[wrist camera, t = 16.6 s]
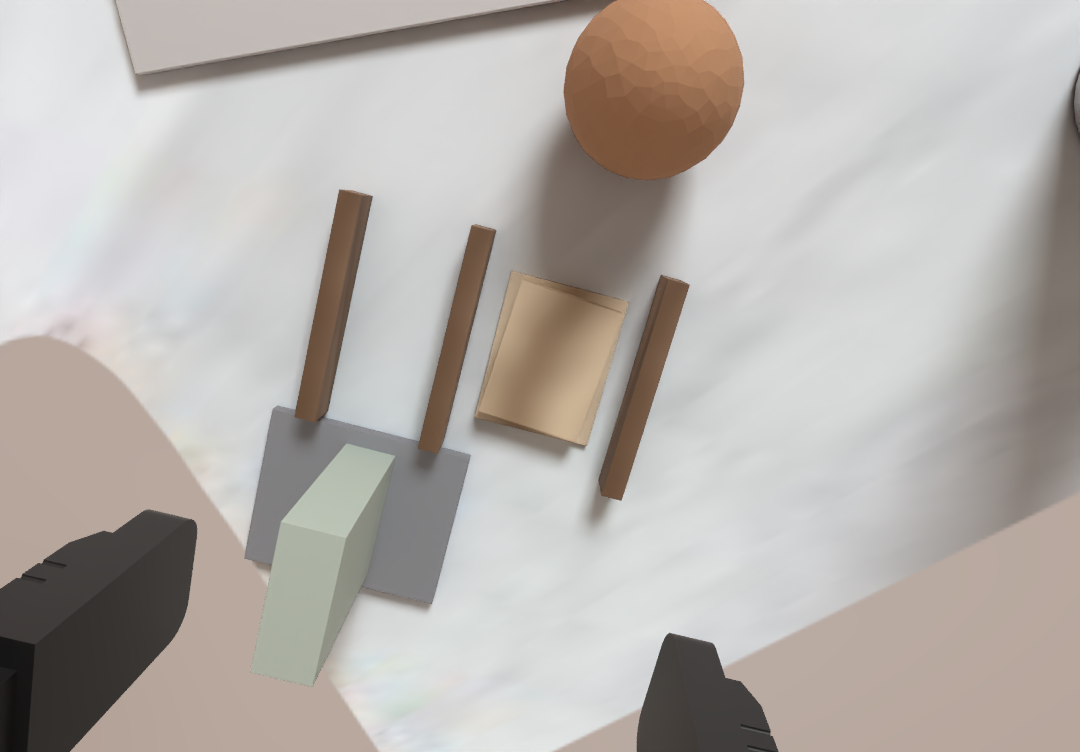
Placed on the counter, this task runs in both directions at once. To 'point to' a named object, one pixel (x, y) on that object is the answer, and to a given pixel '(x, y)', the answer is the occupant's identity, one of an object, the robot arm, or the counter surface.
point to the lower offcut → (504, 317)
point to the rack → (335, 312)
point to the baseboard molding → (272, 25)
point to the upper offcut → (550, 360)
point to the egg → (653, 86)
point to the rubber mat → (409, 509)
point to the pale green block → (321, 564)
